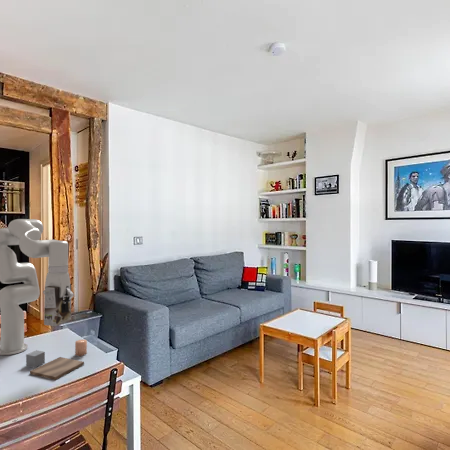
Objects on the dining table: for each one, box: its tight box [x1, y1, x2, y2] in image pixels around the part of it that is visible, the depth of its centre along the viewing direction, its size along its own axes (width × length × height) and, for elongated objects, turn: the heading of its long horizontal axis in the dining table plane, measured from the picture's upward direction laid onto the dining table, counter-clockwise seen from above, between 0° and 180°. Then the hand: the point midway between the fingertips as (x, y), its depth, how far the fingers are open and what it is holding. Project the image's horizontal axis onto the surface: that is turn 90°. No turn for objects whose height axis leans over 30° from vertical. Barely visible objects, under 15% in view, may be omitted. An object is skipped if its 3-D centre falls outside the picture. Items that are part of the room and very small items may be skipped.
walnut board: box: [29, 356, 85, 381], centre depth 137 cm, size 14×15×1 cm
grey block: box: [25, 349, 46, 369], centre depth 141 cm, size 5×5×5 cm
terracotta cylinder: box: [74, 339, 88, 357], centre depth 153 cm, size 5×5×6 cm
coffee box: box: [43, 283, 72, 327], centre depth 137 cm, size 9×6×16 cm
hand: (58, 311), depth 137 cm, fingers closed on coffee box, 7 cm apart
